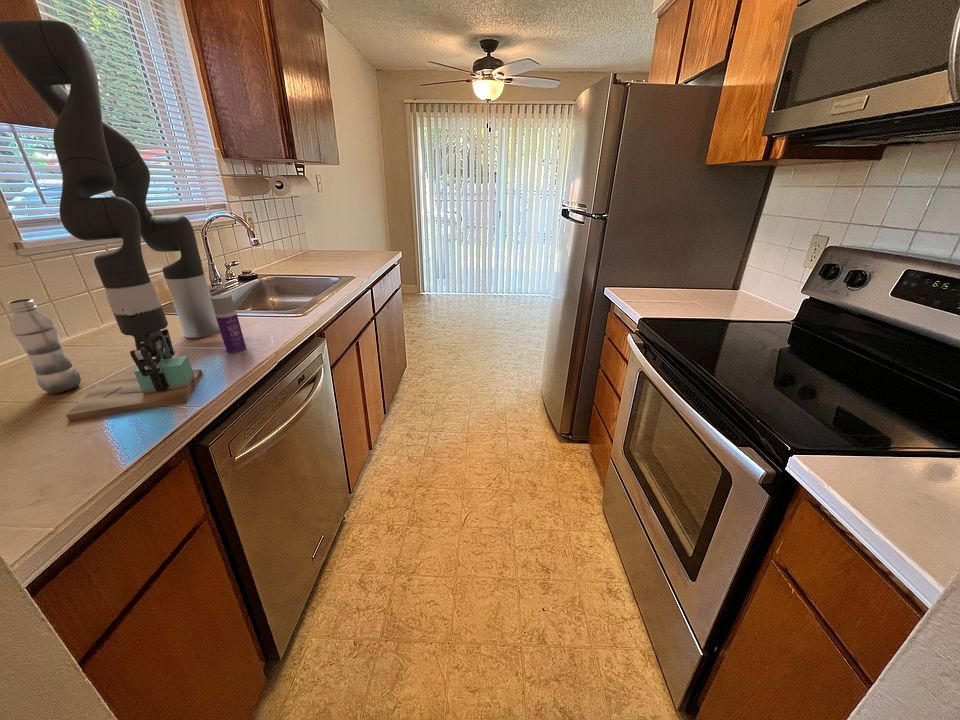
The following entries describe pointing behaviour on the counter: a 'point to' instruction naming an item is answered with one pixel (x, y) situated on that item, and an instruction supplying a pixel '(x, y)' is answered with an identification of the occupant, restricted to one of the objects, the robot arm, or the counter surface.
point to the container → (228, 324)
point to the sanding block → (169, 374)
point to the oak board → (128, 398)
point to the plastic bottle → (42, 347)
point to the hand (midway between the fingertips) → (167, 383)
